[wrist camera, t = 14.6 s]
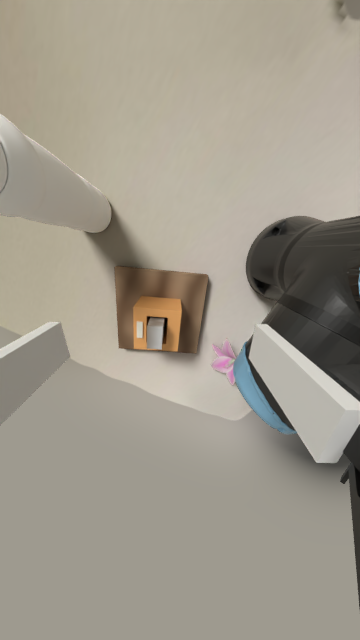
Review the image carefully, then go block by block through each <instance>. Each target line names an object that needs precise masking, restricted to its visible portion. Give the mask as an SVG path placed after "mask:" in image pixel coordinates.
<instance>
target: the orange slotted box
mask: <svg viewBox="0 0 360 640" xmlns="http://www.w3.org/2000/svg"><path fill="white" fill-rule="evenodd" d="M181 313H182V309H181V299H171V298H159V297H147V296H141V297H140V298H139V300H138V301H137V303H136V304H135V305H134V307H133V327H134V349H147V325H148V323H149V320H150V317H151V316H152V317H165V318H168V325H167V327H165V328H164V336H163V343H162V351H178V342H179V333H180V323H181ZM147 350H161V349H147Z"/></svg>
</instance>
